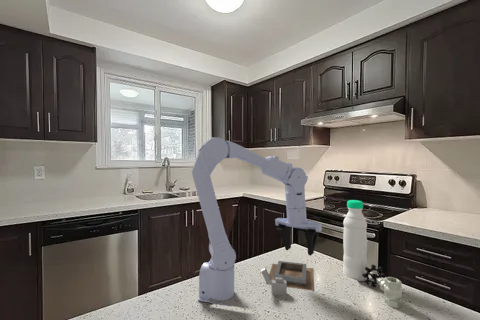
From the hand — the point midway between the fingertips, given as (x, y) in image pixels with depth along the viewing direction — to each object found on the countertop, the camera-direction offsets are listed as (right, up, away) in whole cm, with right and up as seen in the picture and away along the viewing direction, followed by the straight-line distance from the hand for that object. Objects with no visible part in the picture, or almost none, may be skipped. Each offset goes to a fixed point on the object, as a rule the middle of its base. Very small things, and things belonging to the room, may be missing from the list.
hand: (299, 251), depth 75 cm
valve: (+23, -11, -5) cm, 26 cm away
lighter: (-9, -11, -5) cm, 15 cm away
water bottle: (+20, -11, +6) cm, 23 cm away
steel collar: (-1, -10, +5) cm, 11 cm away
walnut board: (-1, -11, +5) cm, 12 cm away
